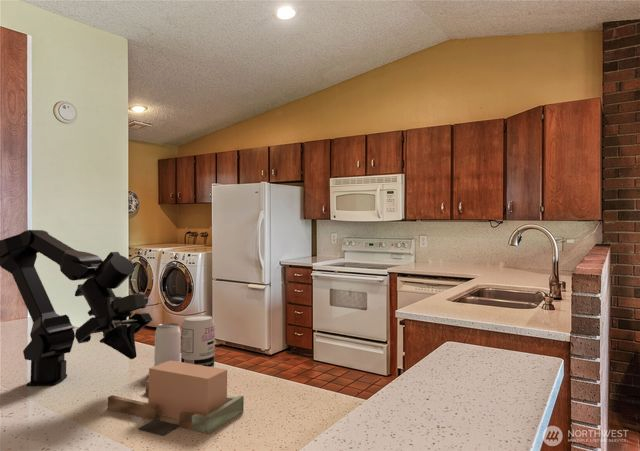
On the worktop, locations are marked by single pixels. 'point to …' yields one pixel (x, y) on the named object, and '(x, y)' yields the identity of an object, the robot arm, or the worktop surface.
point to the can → (167, 343)
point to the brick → (187, 388)
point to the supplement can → (198, 340)
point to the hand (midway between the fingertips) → (134, 358)
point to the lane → (185, 418)
